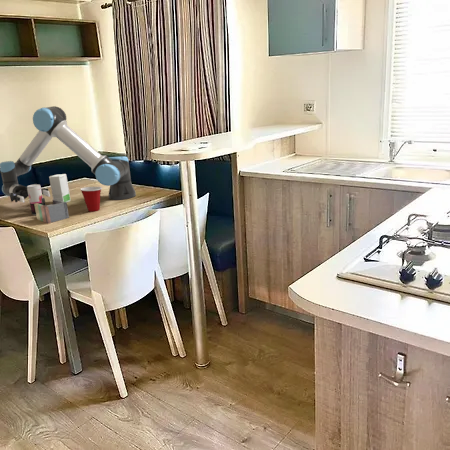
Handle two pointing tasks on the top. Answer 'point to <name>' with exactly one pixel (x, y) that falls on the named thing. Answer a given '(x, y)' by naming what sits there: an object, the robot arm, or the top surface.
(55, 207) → the grey desk organizer
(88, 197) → the plastic cup
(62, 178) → the skincare box
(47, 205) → the plunger
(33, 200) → the beverage can
